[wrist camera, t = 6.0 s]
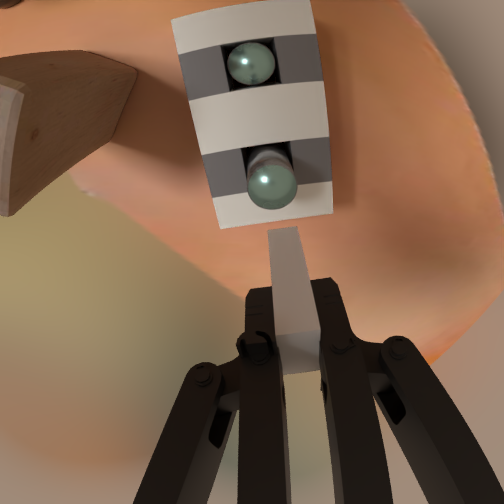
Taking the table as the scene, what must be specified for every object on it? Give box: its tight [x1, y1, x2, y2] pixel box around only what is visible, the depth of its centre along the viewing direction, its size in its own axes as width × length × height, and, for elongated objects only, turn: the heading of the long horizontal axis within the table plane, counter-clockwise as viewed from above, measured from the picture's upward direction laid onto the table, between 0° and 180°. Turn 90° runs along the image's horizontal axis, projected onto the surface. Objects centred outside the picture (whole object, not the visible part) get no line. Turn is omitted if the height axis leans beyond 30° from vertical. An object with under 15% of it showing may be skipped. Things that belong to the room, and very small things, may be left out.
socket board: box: [171, 0, 333, 229], centre depth 26 cm, size 22×12×7 cm, turn 9°
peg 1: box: [227, 42, 275, 85], centre depth 23 cm, size 4×4×7 cm
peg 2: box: [247, 143, 298, 210], centre depth 25 cm, size 4×4×7 cm
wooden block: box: [0, 50, 137, 217], centre depth 19 cm, size 10×10×20 cm
